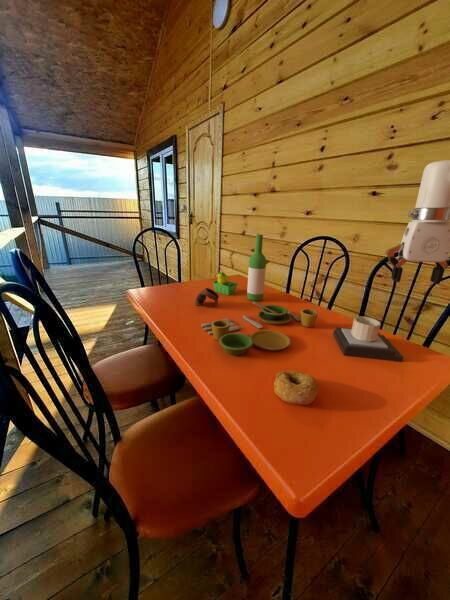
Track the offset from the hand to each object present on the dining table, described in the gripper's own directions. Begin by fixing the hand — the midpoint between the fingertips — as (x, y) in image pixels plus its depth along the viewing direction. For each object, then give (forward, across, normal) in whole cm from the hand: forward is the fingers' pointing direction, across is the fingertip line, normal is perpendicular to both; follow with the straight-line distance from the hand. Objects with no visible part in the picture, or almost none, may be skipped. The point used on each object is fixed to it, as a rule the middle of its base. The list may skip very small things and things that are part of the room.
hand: (415, 281), depth 70 cm
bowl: (+19, -9, +3) cm, 21 cm away
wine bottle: (+21, -46, +40) cm, 65 cm away
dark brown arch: (+21, -66, +26) cm, 74 cm away
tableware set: (+22, -40, +6) cm, 46 cm away
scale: (+22, -8, +3) cm, 24 cm away
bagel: (+22, -32, -24) cm, 46 cm away
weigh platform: (+21, -9, +3) cm, 23 cm away
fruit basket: (+21, -62, +46) cm, 80 cm away
